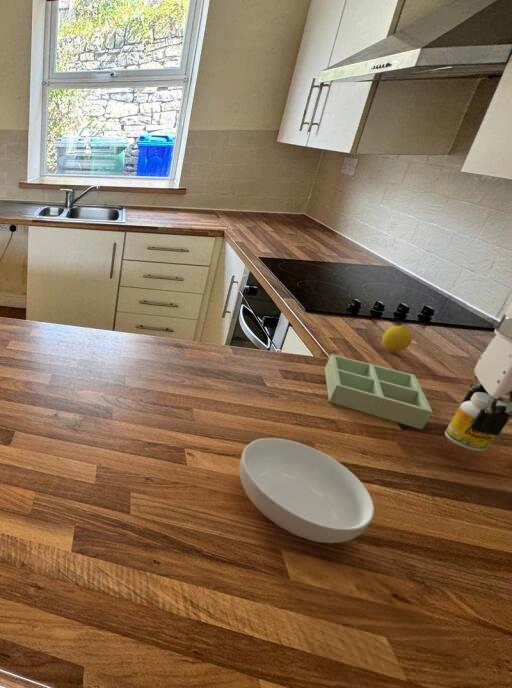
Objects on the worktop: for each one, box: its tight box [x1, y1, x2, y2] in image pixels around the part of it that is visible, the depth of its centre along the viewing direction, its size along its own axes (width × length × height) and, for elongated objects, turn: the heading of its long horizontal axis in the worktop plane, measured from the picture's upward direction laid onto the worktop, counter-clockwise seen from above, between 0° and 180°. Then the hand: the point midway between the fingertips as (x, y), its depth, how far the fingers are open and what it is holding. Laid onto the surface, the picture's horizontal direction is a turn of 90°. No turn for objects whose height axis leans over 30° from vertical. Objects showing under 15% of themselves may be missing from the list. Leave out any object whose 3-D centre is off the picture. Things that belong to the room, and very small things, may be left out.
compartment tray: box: [324, 353, 434, 430], centre depth 90 cm, size 15×15×5 cm
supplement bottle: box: [444, 392, 508, 452], centre depth 71 cm, size 5×5×10 cm
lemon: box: [381, 325, 413, 353], centre depth 108 cm, size 6×6×8 cm
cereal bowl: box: [238, 437, 375, 544], centre depth 63 cm, size 17×17×7 cm
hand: (477, 420), depth 71 cm, fingers closed on supplement bottle, 5 cm apart
